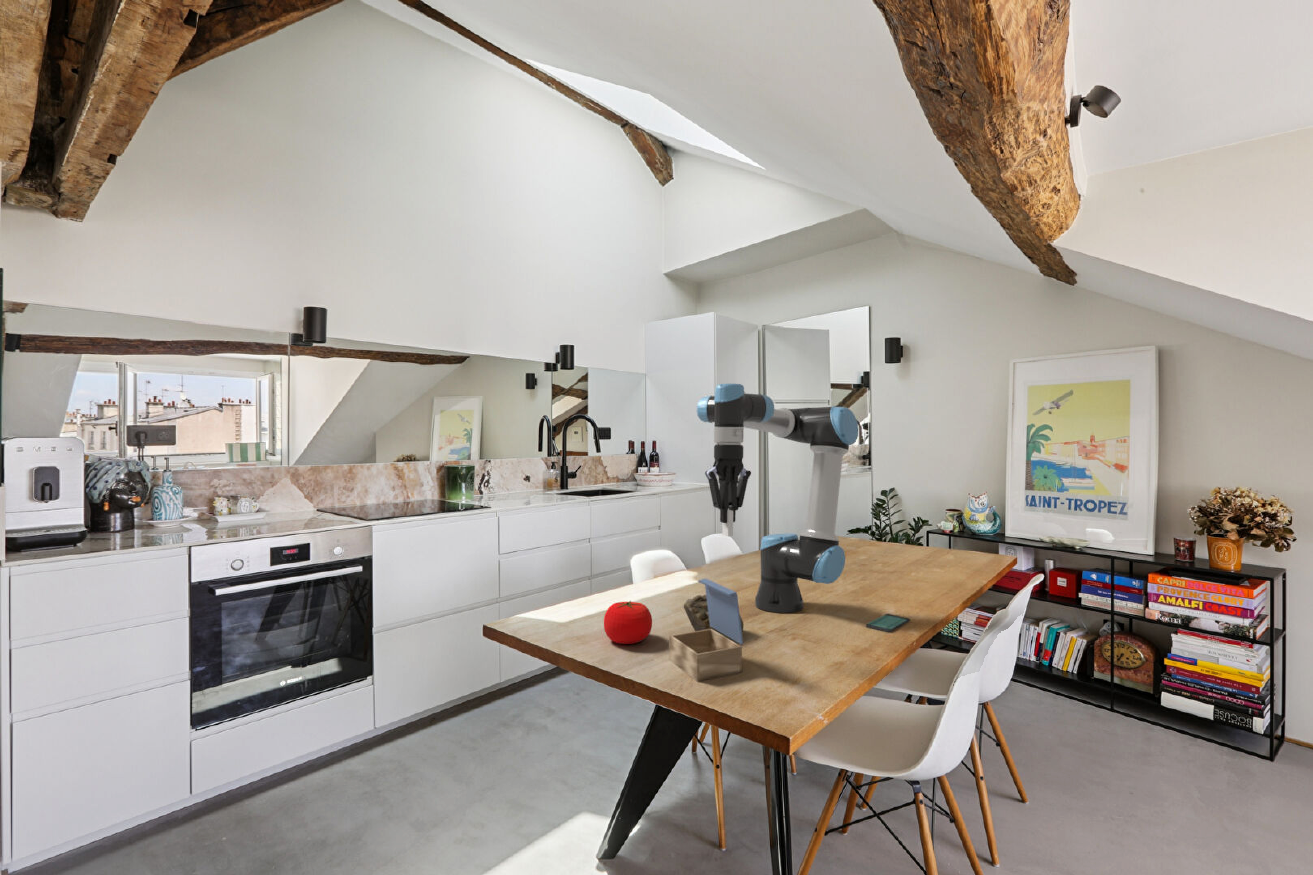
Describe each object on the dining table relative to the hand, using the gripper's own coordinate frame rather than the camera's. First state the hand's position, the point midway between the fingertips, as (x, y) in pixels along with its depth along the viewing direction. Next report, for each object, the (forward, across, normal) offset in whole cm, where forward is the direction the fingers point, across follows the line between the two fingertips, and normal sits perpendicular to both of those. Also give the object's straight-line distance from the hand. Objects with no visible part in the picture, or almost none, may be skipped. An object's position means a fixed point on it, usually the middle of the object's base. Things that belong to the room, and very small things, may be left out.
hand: (727, 535), depth 155 cm
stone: (+30, +3, +10) cm, 32 cm away
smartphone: (+29, +54, -4) cm, 62 cm away
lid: (+17, -7, -7) cm, 20 cm away
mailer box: (+30, -10, -6) cm, 32 cm away
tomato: (+30, -20, +18) cm, 40 cm away
